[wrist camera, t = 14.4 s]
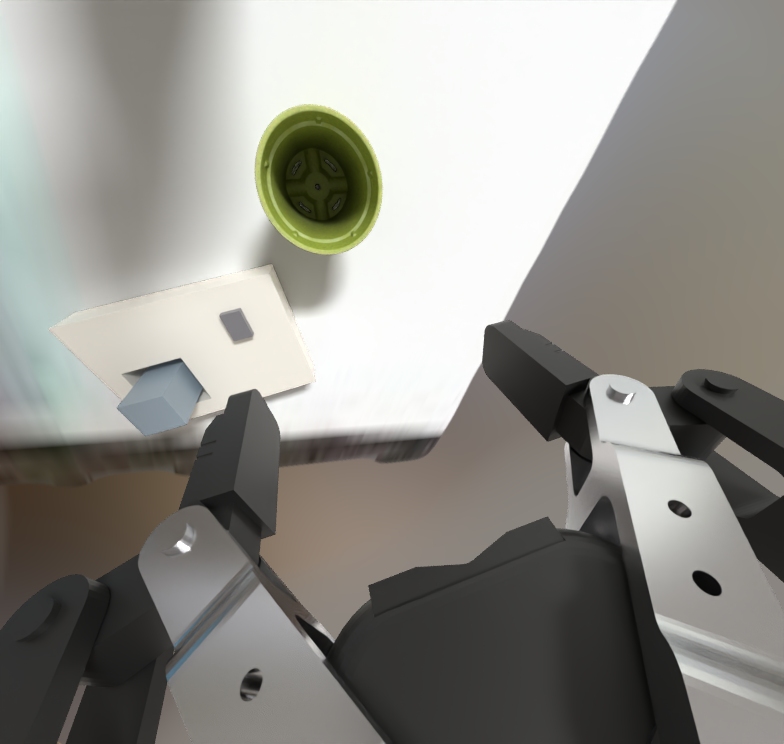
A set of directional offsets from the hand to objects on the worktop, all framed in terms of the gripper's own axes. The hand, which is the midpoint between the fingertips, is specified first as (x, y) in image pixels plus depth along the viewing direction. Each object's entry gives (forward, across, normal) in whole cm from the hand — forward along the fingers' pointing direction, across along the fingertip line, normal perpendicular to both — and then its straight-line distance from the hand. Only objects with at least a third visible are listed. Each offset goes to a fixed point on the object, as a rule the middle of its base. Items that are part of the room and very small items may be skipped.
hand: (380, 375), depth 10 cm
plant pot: (+27, -1, -4) cm, 27 cm away
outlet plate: (+26, +16, +9) cm, 32 cm away
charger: (+26, +21, +11) cm, 36 cm away
